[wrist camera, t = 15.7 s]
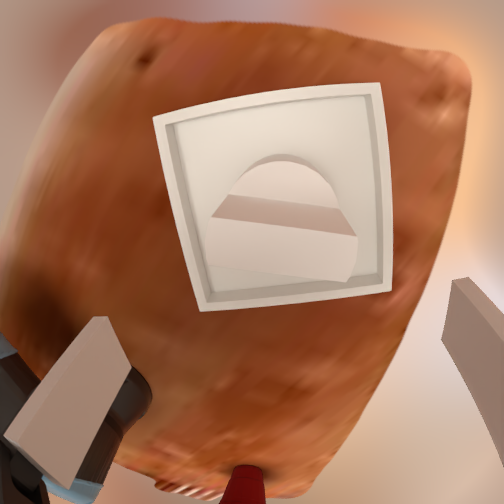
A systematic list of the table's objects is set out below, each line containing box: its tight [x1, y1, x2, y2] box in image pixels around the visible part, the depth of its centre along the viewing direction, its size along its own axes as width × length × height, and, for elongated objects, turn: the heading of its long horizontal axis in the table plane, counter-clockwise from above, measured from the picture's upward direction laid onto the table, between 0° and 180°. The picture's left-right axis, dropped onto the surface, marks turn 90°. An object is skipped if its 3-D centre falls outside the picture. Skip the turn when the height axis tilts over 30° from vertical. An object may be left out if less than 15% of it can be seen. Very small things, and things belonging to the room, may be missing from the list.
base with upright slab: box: [205, 154, 358, 282], centre depth 23 cm, size 9×9×12 cm
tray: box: [153, 83, 393, 312], centre depth 28 cm, size 20×20×3 cm
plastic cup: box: [219, 465, 266, 504], centre depth 46 cm, size 11×11×12 cm
